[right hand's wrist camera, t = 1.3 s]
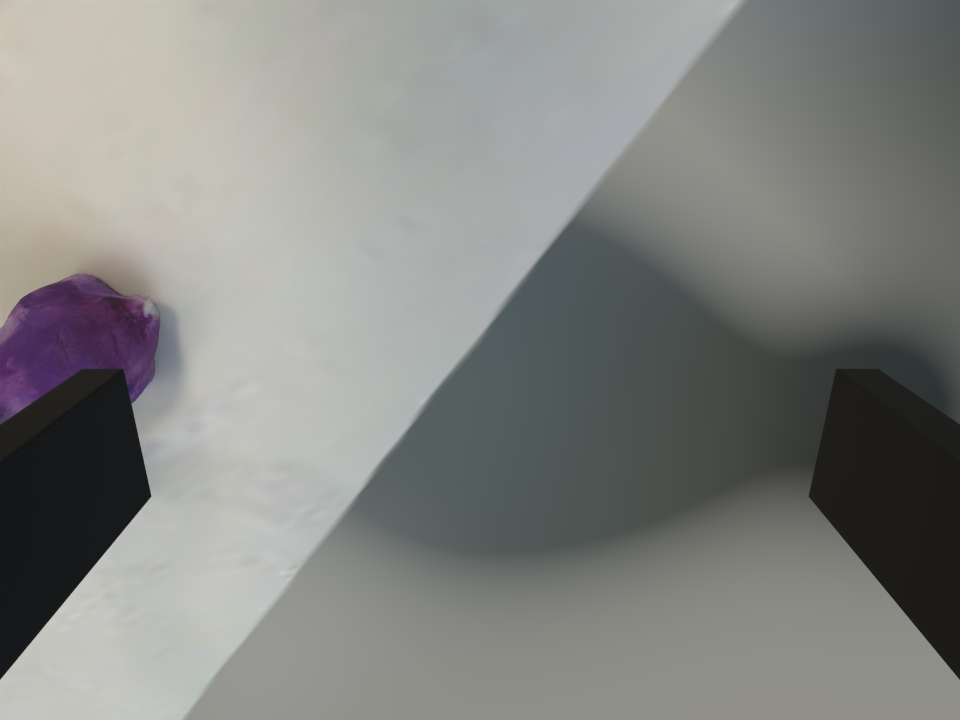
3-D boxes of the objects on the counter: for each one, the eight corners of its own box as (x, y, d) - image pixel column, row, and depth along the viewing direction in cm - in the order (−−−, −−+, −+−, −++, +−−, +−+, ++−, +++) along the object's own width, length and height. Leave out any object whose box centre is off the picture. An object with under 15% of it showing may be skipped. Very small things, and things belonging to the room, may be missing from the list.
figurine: (18, 404, 43) (-204, 552, 29) (14, 253, 39) (-242, 339, 25) (165, 434, 44) (17, 591, 30) (174, 288, 40) (11, 391, 26)
